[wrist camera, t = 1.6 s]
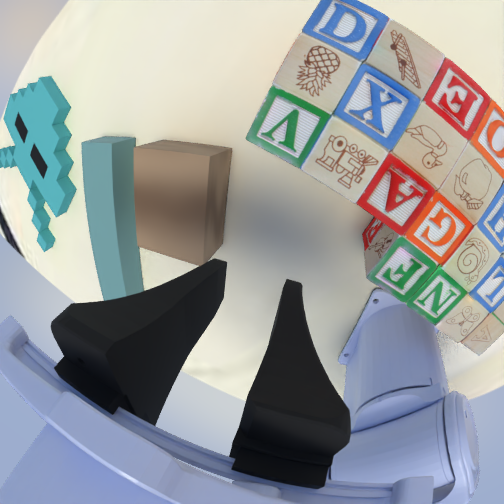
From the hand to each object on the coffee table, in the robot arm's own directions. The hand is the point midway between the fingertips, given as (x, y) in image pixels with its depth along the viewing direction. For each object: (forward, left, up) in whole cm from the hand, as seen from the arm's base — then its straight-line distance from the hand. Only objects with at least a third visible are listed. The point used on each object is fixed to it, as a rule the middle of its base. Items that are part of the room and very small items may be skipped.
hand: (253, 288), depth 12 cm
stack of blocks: (+11, -11, -6) cm, 17 cm away
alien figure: (+2, +33, -10) cm, 35 cm away
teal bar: (-7, +16, -9) cm, 20 cm away
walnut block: (0, +8, -10) cm, 13 cm away
